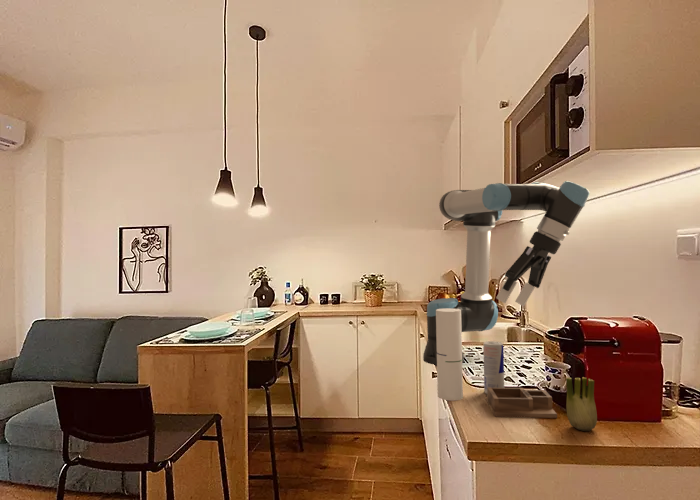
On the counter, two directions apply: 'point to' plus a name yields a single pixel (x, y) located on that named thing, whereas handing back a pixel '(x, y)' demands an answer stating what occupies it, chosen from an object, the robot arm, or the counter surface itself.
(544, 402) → the socket board
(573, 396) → the fennel bulb
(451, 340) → the cylindrical container
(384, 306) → the counter surface
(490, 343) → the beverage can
